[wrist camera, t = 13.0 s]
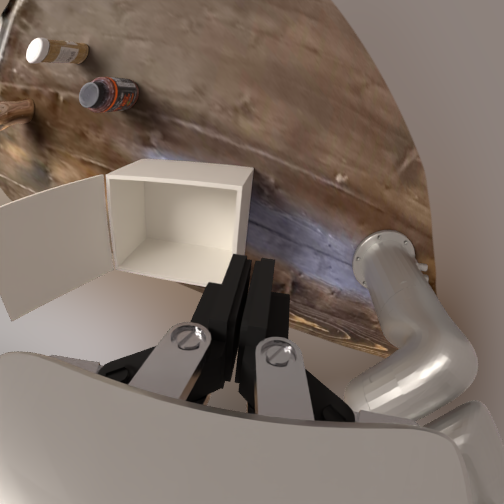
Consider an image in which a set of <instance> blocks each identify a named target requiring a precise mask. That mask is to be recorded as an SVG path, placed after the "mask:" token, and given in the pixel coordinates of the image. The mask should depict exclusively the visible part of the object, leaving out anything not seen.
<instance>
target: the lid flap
mask: <svg viewBox="0 0 504 504" xmlns="http://www.w3.org/2000/svg"><path fill="white" fill-rule="evenodd" d="M113 270H114V268H113V262H112V255H111V248H110V241H109V233H108V224H107V214H106V203H105V191H104V175H98V176H94V177H90V178H86V179H82V180H79V181H75V182H72V183H68V184H65V185H61V186H58V187H55V188H51V189H48V190H45V191H42V192H39V193H36V194H33V195H30V196H27V197H24V198H21V199H18V200H15V201H13V202H10V203H7V204H5V205H2V206H0V295H1V298H2V300H3V303H4V305H5V308H6V310H7V312H8V314H9V317H10V319H11V321H14V320H16V319H18V318H20V317H21V316H23V315H25V314H27V313H29V312H31V311H33V310H35V309H36V308H38V307H40V306H42V305H44V304H46V303H48V302H50V301H52V300H54V299H56V298H58V297H60V296H62V295H64V294H66V293H68V292H70V291H72V290H74V289H76V288H78V287H80V286H82V285H84V284H86V283H88V282H90V281H92V280H94V279H96V278H98V277H100V276H102V275H104V274H106V273H108V272H110V271H113Z"/></svg>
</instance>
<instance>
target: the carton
mask: <svg viewBox="0 0 504 504" xmlns="http://www.w3.org/2000/svg"><path fill="white" fill-rule="evenodd" d="M253 172H254V168H252V167H243V166H235V165H225V164H215V163H204V162H192V161H178V160H161V159H141V160H138V161H136V162H134V163H131V164H129V165H127V166H124V167H122V168H120V169H117V170H115V171H113V172H111V173H109V174H106V185H107V200H108V212H109V222H110V231H111V239H112V247H113V254H114V260H115V267H116V270H120V271H125V272H130V273H135V274H140V275H145V276H150V277H155V278H160V279H165V280H171V281H176V282H181V283H187V284H192V285H198V286H204V287H206V286H207V284H208V282H212V283H218V284H222V282H223V279H224V276H225V274H226V271H227V269H228V266H229V263H230V261H231V258H232V256H233V254H239V255H245V248H246V238H247V229H248V219H249V209H250V200H251V190H252V181H253Z"/></svg>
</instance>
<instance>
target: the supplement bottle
mask: <svg viewBox="0 0 504 504" xmlns="http://www.w3.org/2000/svg"><path fill="white" fill-rule="evenodd" d="M138 95H139V90H138V87H137V85H136V83H135V82H134V81H132V80H130V79H123V78H112V77H99V78H96V79H94V80H93V81H92V82H89V83H87V84H85V85H84V86H83V87H82V89H81V91H80V94H79V101H80V103H81V105H82V106H83V107H86V108H88V109H89V110H91V111H93V112H96V113H101V112H111V111H122V110H127V109H129V108H131V107H132V106H133V105H134V104H135V103H136V101H137V99H138Z"/></svg>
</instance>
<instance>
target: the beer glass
mask: <svg viewBox="0 0 504 504" xmlns="http://www.w3.org/2000/svg"><path fill="white" fill-rule="evenodd" d="M33 115H34V103H33V101H32V99H30V98H26V99H23V100H20V101H15V102H14V101H0V131H2V130H4V129H6V128H8V127H10V126H12V125H14V124H18V123H28V122H30V121H31V119H32V117H33Z"/></svg>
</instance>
